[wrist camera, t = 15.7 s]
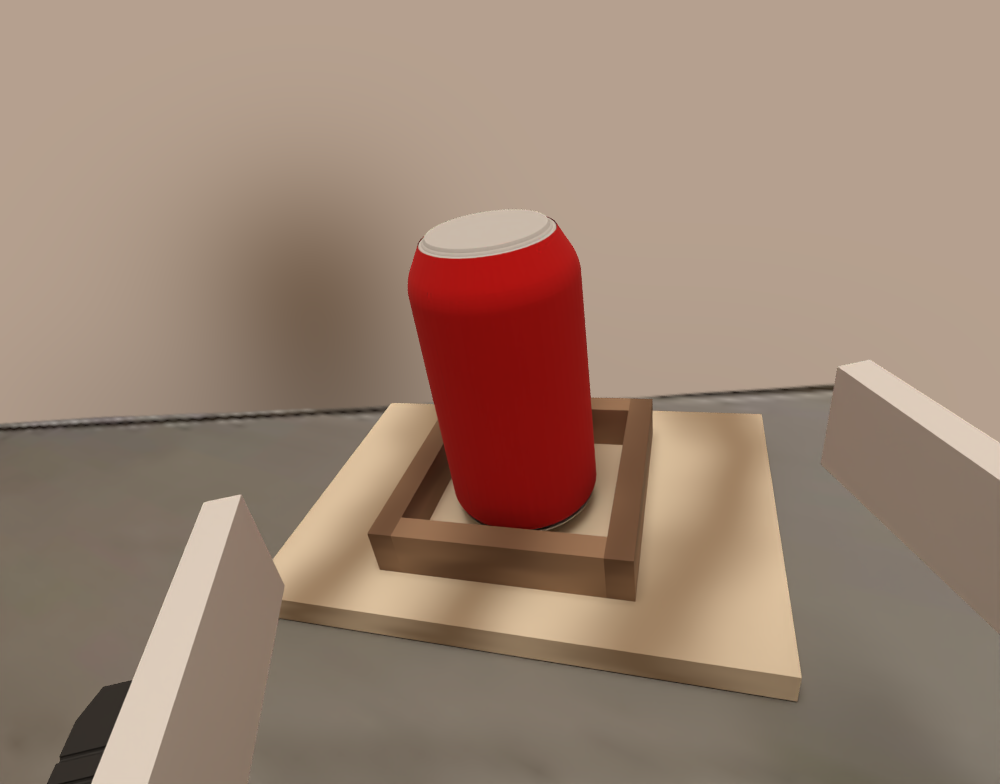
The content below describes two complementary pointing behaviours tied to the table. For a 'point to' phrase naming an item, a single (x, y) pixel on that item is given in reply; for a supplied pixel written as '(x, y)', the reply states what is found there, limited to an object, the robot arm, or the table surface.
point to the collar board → (565, 554)
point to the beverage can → (507, 365)
